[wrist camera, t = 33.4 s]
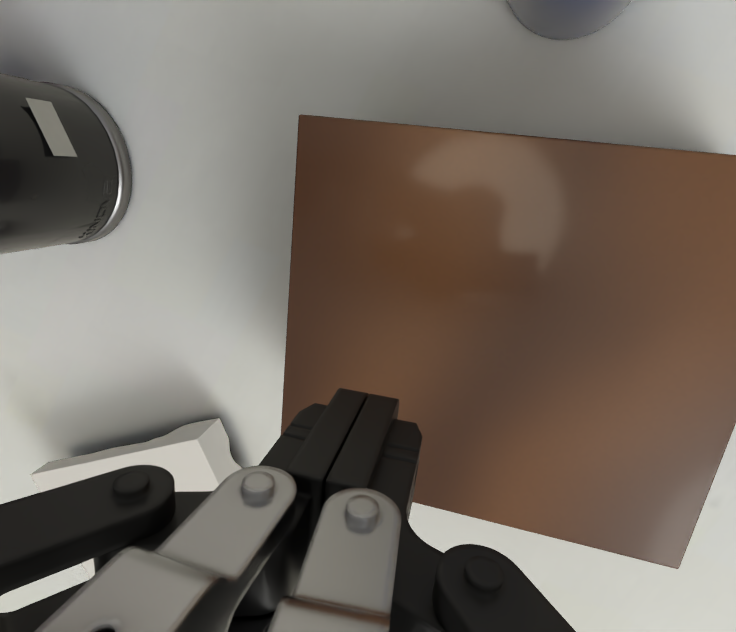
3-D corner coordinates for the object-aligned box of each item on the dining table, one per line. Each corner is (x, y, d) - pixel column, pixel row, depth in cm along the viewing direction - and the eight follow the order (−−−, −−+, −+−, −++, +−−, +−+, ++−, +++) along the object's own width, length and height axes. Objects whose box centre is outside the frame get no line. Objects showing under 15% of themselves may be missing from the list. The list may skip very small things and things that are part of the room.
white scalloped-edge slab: (328, 638, 36) (225, 412, 32) (313, 683, 33) (197, 439, 29) (176, 644, 41) (68, 448, 37) (150, 684, 38) (29, 474, 34)
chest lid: (284, 459, 24) (278, 468, 23) (305, 116, 19) (298, 113, 18) (672, 555, 20) (678, 570, 20) (822, 165, 16) (839, 164, 15)
